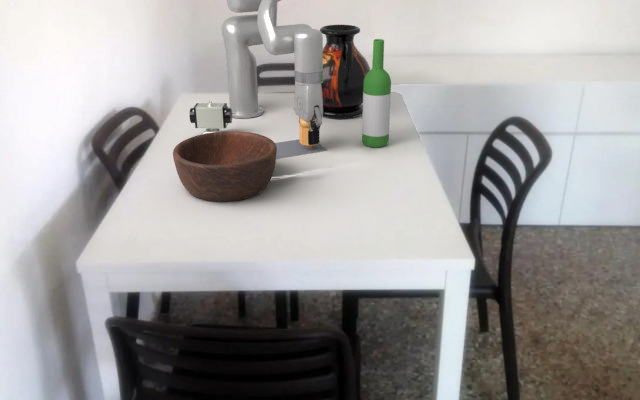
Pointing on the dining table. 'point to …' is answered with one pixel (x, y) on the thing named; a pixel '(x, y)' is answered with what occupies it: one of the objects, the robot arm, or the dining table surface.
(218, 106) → the pneumatic valve
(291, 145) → the board
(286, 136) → the dining table surface
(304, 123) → the orange dome-topped faceted piece
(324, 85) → the black vase
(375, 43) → the wine bottle
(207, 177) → the wooden bowl
